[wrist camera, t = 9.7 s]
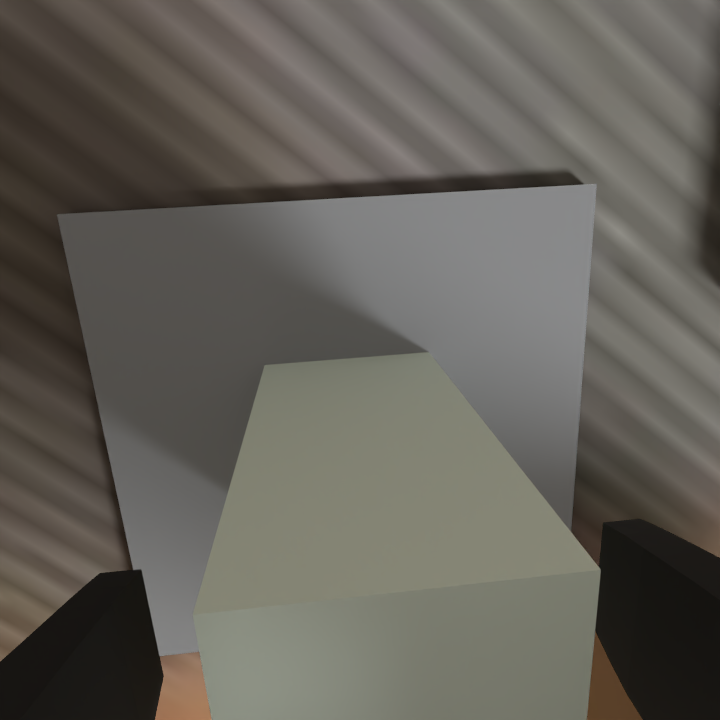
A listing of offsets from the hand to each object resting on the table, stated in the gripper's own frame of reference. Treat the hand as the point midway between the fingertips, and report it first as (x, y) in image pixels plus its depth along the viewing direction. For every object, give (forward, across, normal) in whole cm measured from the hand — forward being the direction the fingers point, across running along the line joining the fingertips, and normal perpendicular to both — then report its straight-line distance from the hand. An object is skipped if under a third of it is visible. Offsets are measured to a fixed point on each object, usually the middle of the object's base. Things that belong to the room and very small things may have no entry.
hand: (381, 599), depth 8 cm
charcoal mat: (+6, 0, 0) cm, 6 cm away
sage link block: (+6, 0, 0) cm, 6 cm away
